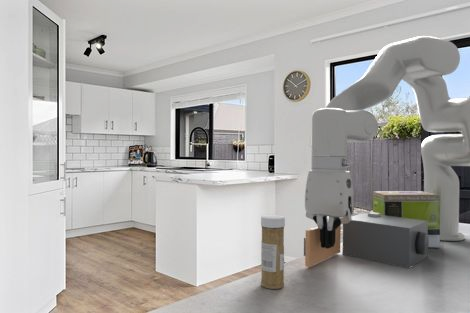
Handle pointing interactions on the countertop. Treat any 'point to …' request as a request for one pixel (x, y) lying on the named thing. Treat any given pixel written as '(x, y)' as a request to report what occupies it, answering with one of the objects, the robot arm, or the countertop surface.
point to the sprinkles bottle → (272, 251)
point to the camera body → (386, 239)
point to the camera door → (319, 246)
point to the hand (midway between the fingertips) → (327, 246)
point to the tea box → (411, 209)
